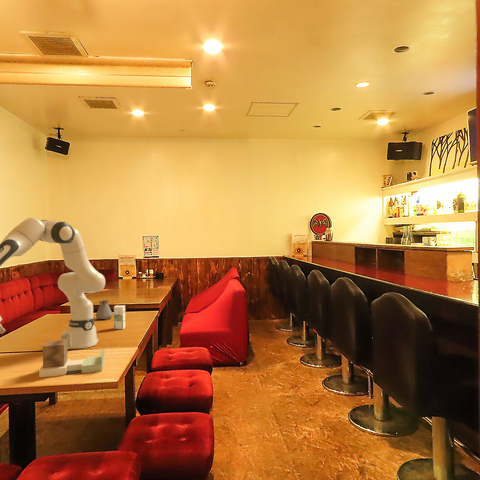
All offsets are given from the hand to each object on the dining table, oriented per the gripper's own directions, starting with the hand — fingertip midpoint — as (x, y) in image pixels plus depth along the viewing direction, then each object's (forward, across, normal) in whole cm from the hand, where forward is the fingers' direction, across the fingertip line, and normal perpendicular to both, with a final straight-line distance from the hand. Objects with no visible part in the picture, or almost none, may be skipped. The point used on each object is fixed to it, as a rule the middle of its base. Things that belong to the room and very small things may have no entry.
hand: (0, 334), depth 152 cm
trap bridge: (+32, 0, -7) cm, 32 cm away
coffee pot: (+35, +104, -10) cm, 110 cm away
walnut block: (+25, 0, -4) cm, 25 cm away
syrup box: (+43, +74, -19) cm, 87 cm away
